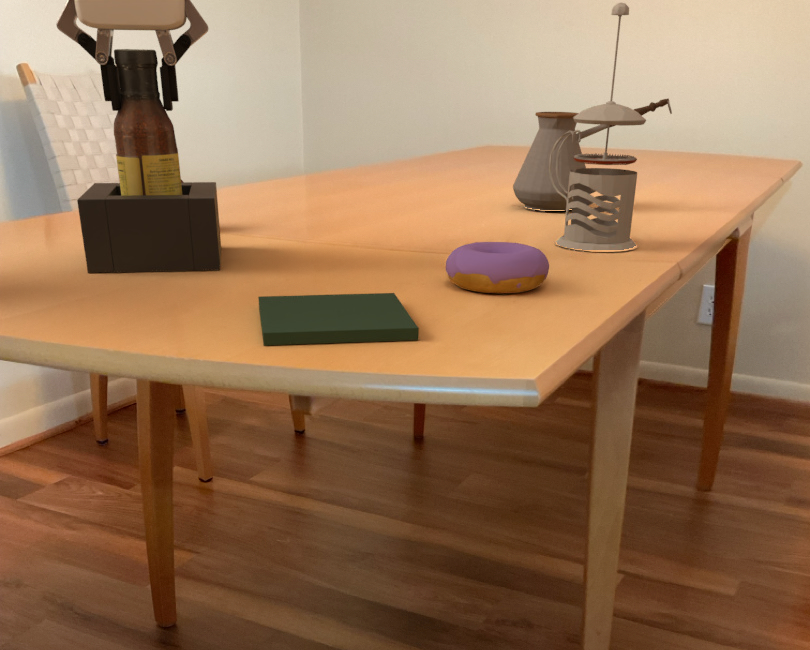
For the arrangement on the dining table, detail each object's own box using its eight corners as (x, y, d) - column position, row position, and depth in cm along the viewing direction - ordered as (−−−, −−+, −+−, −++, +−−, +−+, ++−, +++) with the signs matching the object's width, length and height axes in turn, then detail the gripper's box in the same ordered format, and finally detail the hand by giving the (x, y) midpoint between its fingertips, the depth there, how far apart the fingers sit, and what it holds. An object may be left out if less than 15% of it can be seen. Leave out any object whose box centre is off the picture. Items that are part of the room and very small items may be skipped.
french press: (615, 256, 103) (645, -2, 91) (526, 243, 109) (543, 1, 98) (651, 244, 110) (683, 3, 98) (565, 233, 116) (586, 5, 105)
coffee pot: (508, 212, 131) (515, 96, 124) (514, 201, 141) (521, 93, 134) (661, 218, 128) (677, 100, 121) (655, 207, 138) (670, 96, 131)
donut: (532, 270, 94) (539, 223, 91) (556, 310, 87) (564, 261, 84) (436, 271, 92) (439, 224, 89) (452, 313, 85) (456, 263, 82)
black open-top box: (87, 273, 92) (76, 199, 89) (103, 249, 103) (94, 183, 100) (220, 270, 94) (214, 198, 91) (221, 246, 105) (216, 182, 102)
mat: (263, 345, 70) (262, 332, 69) (259, 307, 80) (258, 296, 80) (418, 340, 71) (418, 327, 71) (394, 303, 82) (394, 292, 81)
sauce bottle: (194, 254, 101) (181, 51, 92) (180, 265, 96) (165, 50, 86) (135, 251, 101) (117, 47, 92) (117, 262, 96) (96, 46, 87)
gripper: (213, -102, 88) (228, 108, 96) (29, -109, 85) (61, 108, 94) (211, -115, 81) (228, 112, 90) (12, -123, 79) (49, 112, 87)
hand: (142, 107), depth 92 cm, fingers closed on sauce bottle, 4 cm apart
